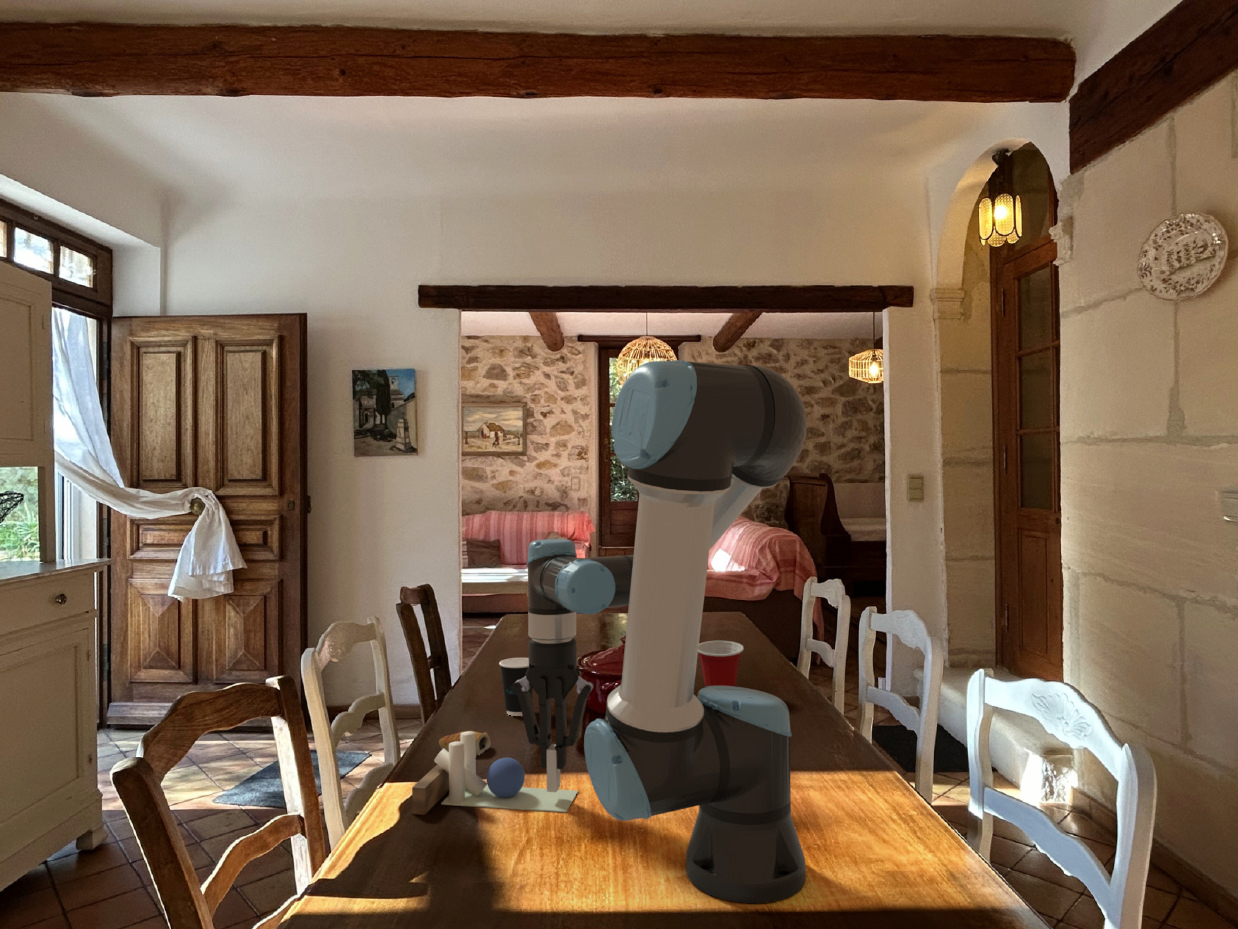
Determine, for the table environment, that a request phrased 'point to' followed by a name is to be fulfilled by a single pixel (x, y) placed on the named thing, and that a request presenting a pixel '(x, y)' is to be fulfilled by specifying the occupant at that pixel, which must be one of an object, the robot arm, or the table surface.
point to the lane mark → (521, 800)
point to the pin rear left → (469, 750)
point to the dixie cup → (510, 674)
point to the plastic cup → (720, 662)
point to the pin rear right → (456, 772)
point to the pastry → (480, 741)
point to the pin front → (471, 778)
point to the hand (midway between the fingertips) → (553, 788)
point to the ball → (505, 777)
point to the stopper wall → (429, 790)
